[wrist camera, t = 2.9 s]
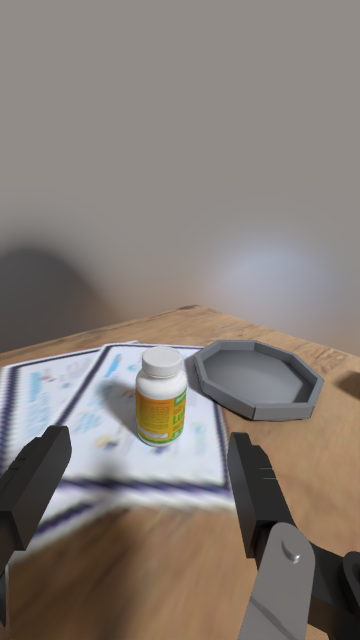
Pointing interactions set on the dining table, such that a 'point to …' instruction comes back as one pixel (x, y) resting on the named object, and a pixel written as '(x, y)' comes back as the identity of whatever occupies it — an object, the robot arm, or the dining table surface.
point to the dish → (258, 380)
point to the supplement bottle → (160, 396)
